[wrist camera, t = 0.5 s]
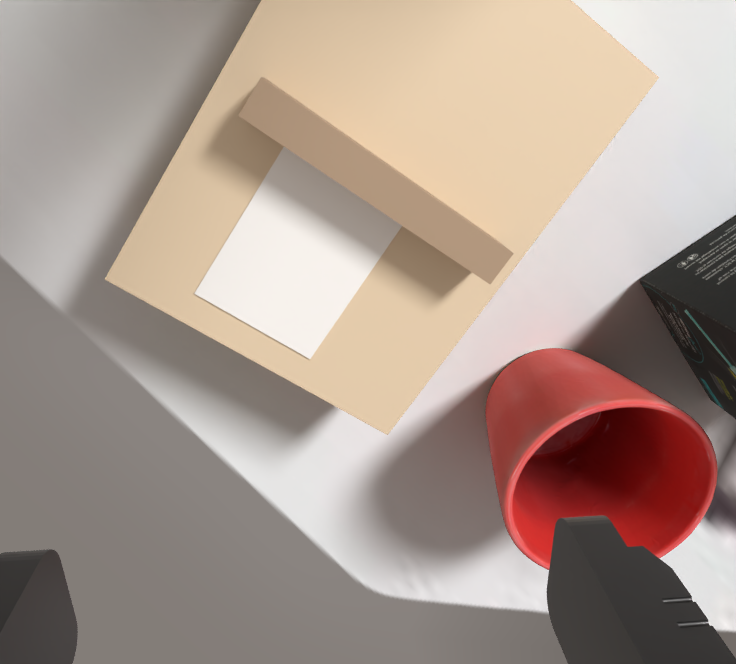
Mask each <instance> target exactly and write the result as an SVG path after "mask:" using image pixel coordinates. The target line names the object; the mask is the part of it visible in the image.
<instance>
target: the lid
mask: <svg viewBox="0 0 736 664" xmlns="http://www.w3.org/2000/svg"><path fill="white" fill-rule="evenodd" d="M658 78H659V77H658V76H657V75H656V74H655V73H653V72H652V71H651V70H650V69H649V68H648V67H647V66H645V65H644V64H643V63H642V62H641V61H640V60H639V59H637V58H636V57H635V56H634V55H633V54H632V53H631V52H629V51H628V50H627V49H626V48H625V47H624V46H623V45H621V44H620V43H619V42H618V41H617V40H616V39H615V38H613V37H612V36H611V35H610V34H609V33H608V32H607V31H605V30H604V29H603V28H602V27H601V26H600V25H599V24H597V23H596V22H595V21H594V20H593V19H592V18H591V17H589V16H588V15H587V14H586V13H585V12H584V11H583V10H582V9H580V8H579V7H578V6H577V5H576V4H575V3H574V2H572V1H571V0H261V1H260V3H259V5H258V7H257V9H256V10H255V12H254V14H253V16H252V18H251V19H250V21H249V23H248V25H247V26H246V28H245V30H244V32H243V34H242V35H241V37H240V39H239V41H238V42H237V44H236V46H235V48H234V50H233V51H232V53H231V55H230V57H229V59H228V60H227V62H226V64H225V66H224V67H223V69H222V71H221V73H220V75H219V76H218V78H217V80H216V82H215V83H214V85H213V87H212V89H211V91H210V92H209V94H208V96H207V98H206V99H205V101H204V103H203V105H202V107H201V108H200V110H199V112H198V114H197V116H196V117H195V119H194V121H193V123H192V124H191V126H190V128H189V130H188V132H187V133H186V135H185V137H184V139H183V140H182V142H181V144H180V146H179V148H178V149H177V151H176V153H175V155H174V156H173V158H172V160H171V162H170V164H169V165H168V167H167V169H166V171H165V173H164V174H163V176H162V178H161V180H160V181H159V183H158V185H157V187H156V189H155V190H154V192H153V194H152V196H151V197H150V199H149V201H148V203H147V205H146V206H145V208H144V210H143V212H142V213H141V215H140V217H139V219H138V221H137V222H136V224H135V226H134V228H133V230H132V231H131V233H130V235H129V237H128V238H127V240H126V242H125V244H124V246H123V247H122V249H121V251H120V253H119V254H118V256H117V258H116V260H115V262H114V263H113V265H112V267H111V269H110V270H109V272H108V274H107V276H106V278H105V280H107V281H108V282H110V283H112V284H114V285H116V286H117V287H119V288H121V289H123V290H125V291H127V292H128V293H130V294H132V295H134V296H136V297H137V298H139V299H141V300H143V301H145V302H147V303H148V304H150V305H152V306H154V307H156V308H157V309H159V310H161V311H163V312H165V313H167V314H168V315H170V316H172V317H174V318H176V319H177V320H179V321H181V322H183V323H185V324H187V325H188V326H190V327H192V328H194V329H196V330H197V331H199V332H201V333H203V334H205V335H207V336H208V337H210V338H212V339H214V340H216V341H217V342H219V343H221V344H223V345H225V346H227V347H228V348H230V349H232V350H234V351H236V352H237V353H239V354H241V355H243V356H245V357H247V358H248V359H250V360H252V361H254V362H256V363H257V364H259V365H261V366H263V367H265V368H267V369H268V370H270V371H272V372H274V373H276V374H277V375H279V376H281V377H283V378H285V379H287V380H288V381H290V382H292V383H294V384H296V385H297V386H299V387H301V388H303V389H305V390H307V391H308V392H310V393H312V394H314V395H316V396H317V397H319V398H321V399H323V400H325V401H327V402H328V403H330V404H332V405H334V406H336V407H337V408H339V409H341V410H343V411H345V412H347V413H348V414H350V415H352V416H354V417H356V418H357V419H359V420H361V421H363V422H365V423H367V424H368V425H370V426H372V427H374V428H376V429H377V430H379V431H381V432H383V433H385V434H387V435H388V434H389V433H390V431H391V430H392V429H393V427H394V426H395V425H396V423H397V422H398V421H399V419H400V418H401V417H402V415H403V414H404V413H405V411H406V410H407V409H408V407H409V406H410V405H411V404H412V402H413V401H414V400H415V398H416V397H417V396H418V394H419V393H420V392H421V390H422V389H423V388H424V386H425V385H426V384H427V382H428V381H429V380H430V379H431V377H432V376H433V375H434V373H435V372H436V371H437V369H438V368H439V367H440V365H441V364H442V363H443V361H444V360H445V359H446V357H447V356H448V355H449V354H450V352H451V351H452V350H453V348H454V347H455V346H456V344H457V343H458V342H459V340H460V339H461V338H462V336H463V335H464V334H465V332H466V331H467V330H468V328H469V327H470V326H471V325H472V323H473V322H474V321H475V319H476V318H477V317H478V315H479V314H480V313H481V311H482V310H483V309H484V307H485V306H486V305H487V303H488V302H489V301H490V300H491V298H492V297H493V296H494V294H495V293H496V292H497V290H498V289H499V288H500V286H501V285H502V284H503V282H504V281H505V280H506V278H507V277H508V276H509V274H510V273H511V272H512V271H513V269H514V268H515V267H516V265H517V264H518V263H519V261H520V260H521V259H522V257H523V256H524V255H525V253H526V252H527V251H528V249H529V248H530V247H531V246H532V244H533V243H534V242H535V240H536V239H537V238H538V236H539V235H540V234H541V232H542V231H543V230H544V228H545V227H546V226H547V224H548V223H549V222H550V221H551V219H552V218H553V217H554V215H555V214H556V213H557V211H558V210H559V209H560V207H561V206H562V205H563V203H564V202H565V201H566V199H567V198H568V197H569V195H570V194H571V193H572V192H573V190H574V189H575V188H576V186H577V185H578V184H579V182H580V181H581V180H582V178H583V177H584V176H585V174H586V173H587V172H588V170H589V169H590V168H591V167H592V165H593V164H594V163H595V161H596V160H597V159H598V157H599V156H600V155H601V153H602V152H603V151H604V149H605V148H606V147H607V145H608V144H609V143H610V142H611V140H612V139H613V138H614V136H615V135H616V134H617V132H618V131H619V130H620V128H621V127H622V126H623V124H624V123H625V122H626V120H627V119H628V118H629V116H630V115H631V114H632V113H633V111H634V110H635V109H636V107H637V106H638V105H639V103H640V102H641V101H642V99H643V98H644V97H645V95H646V94H647V93H648V91H649V90H650V89H651V88H652V86H653V85H654V84H655V82H656V81H657V80H658Z"/></svg>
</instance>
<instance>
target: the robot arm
mask: <svg viewBox="0 0 736 664" xmlns="http://www.w3.org/2000/svg"><path fill="white" fill-rule="evenodd" d="M547 603H548V610H549V615H550V619H551V623H552V626H553V629H554V631H555V634H556V636H557V638H558V641H559V643H560V645H561V647H562V650H563V653H564V655H565V657H566V659H567V662H568V664H736V658H735V657H734V656H733V654H732V653H731V651H730V650H729V649H728V647H727V646H726V644H725V643H724V641H723V640H722V639H721V637H720V636H719V634H718V633H717V632H716V630H715V629H714V627H713V626H710V625H709V623H708V619H707V617H706V616H705V615H704V613H703V612H702V610H701V609H700V608H699V606H698V605H697V603H696V602H693V601H692V596H691V595H690V593H689V592H688V591H687V589H686V588H685V586H684V585H683V583H682V582H681V581H680V579H679V578H678V576H677V575H676V574H675V572H674V571H673V569H672V568H671V567H669V566H668V565H667V564H665V563H664V562H663V561H662V560H660V559H659V558H658V557H657V556H655V555H654V554H653V553H651V552H650V551H649V550H648V549H646V548H645V547H644V546H633V547H628V546H627V545H626V543H625V542H624V540H623V539H622V537H621V536H620V534H619V533H618V531H617V529H616V528H615V526H614V525H613V523H612V522H611V521H610V519H609V518H608V517H606V516H604V515H600V516H584V517H569V518H559V519H558V520H557V522H556V524H555V529H554V537H553V544H552V552H551V560H550V568H549V576H548V584H547ZM76 646H77V621H76V617H75V613H74V609H73V605H72V601H71V598H70V594H69V590H68V586H67V583H66V579H65V575H64V571H63V568H62V564H61V560H60V557H59V555H58V553H57V552H56V551H55V550H36V551H21V552H5V553H1V554H0V664H72V663H73V660H74V656H75V651H76Z"/></svg>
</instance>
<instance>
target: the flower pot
mask: <svg viewBox="0 0 736 664" xmlns="http://www.w3.org/2000/svg"><path fill="white" fill-rule="evenodd" d="M485 414H486V422H487V430H488V438H489V446H490V453H491V459H492V464H493V470H494V475H495V481H496V486H497V491H498V497H499V502H500V506H501V511H502V515H503V519H504V522H505V526H506V529H507V531H508V533H509V535H510V537H511V539H512V540H513V542H514V543H515V545H516V546H517V547H518V548H519V550H520V551H521V552H522V553H523V554H524V555H526V556H527V557H528V558H529V559H531V560H532V561H533V562H535V563H536V564H538V565H540V566H542V567H544V568H546V569H548V570H549V568H550V560H551V552H552V544H553V537H554V529H555V524H556V522H557V520H558V519H559V518H569V517H584V516H600V515H604V516H606V517H608V518H609V519H610V521H611V522H612V523H613V525H614V526H615V528H616V529H617V531H618V533H619V534H620V536H621V537H622V539H623V540H624V542H625V543H626V545H627V546H628V547H633V546H644V547H645V548H646V549H648V550H649V551H650V552H651V553H653V554H654V555H655V556H657V557H658V558H661V557H662V556H664V555H665V554H667V553H668V552H670V551H671V550H673V549H674V548H675V547H677V546H678V545H679V544H680V543H682V542H683V541H684V540H685V539H686V538H687V537H688V536H689V535H690V534H691V533H692V532H693V530H694V529H695V528H696V527H697V525H698V524H699V523H700V522H701V520H702V518H703V517H704V515H705V513H706V511H707V509H708V508H709V506H710V503H711V501H712V498H713V495H714V492H715V487H716V482H717V461H716V455H715V452H714V449H713V446H712V443H711V441H710V439H709V437H708V436H707V434H706V433H705V431H704V430H703V429H702V427H701V426H700V425H699V424H698V423H697V422H696V421H695V420H694V419H693V418H692V417H690V416H689V415H688V414H687V413H685V412H684V411H682V410H680V409H679V408H677V407H676V406H674V405H672V404H671V403H669V402H667V401H666V400H664V399H662V398H661V397H659V396H657V395H656V394H654V393H652V392H650V391H649V390H647V389H645V388H643V387H642V386H640V385H638V384H637V383H635V382H633V381H631V380H630V379H628V378H626V377H624V376H622V375H621V374H619V373H617V372H615V371H613V370H612V369H610V368H608V367H606V366H604V365H602V364H600V363H598V362H596V361H594V360H592V359H590V358H588V357H586V356H584V355H582V354H579V353H577V352H574V351H571V350H567V349H559V348H550V349H541V350H537V351H533V352H531V353H528V354H525V355H524V356H522V357H520V358H518V359H516V360H515V361H513V362H512V363H511V364H509V365H508V366H507V367H506V368H505V369H504V370H503V371H502V372H501V373H500V374H499V376H498V377H497V378H496V380H495V382H494V383H493V385H492V387H491V389H490V391H489V394H488V397H487V402H486V410H485Z"/></svg>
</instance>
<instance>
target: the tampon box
mask: <svg viewBox="0 0 736 664" xmlns="http://www.w3.org/2000/svg"><path fill="white" fill-rule="evenodd" d="M640 282H641V284H642V286H643V287H644V289H645V291H646V292H647V294H648V296H649V298H650V299H651V301H652V303H653V304H654V306H655V308H656V309H657V311H658V313H659V314H660V316H661V318H662V320H663V321H664V323H665V325H666V326H667V328H668V330H669V331H670V333H671V335H672V336H673V338H674V340H675V342H676V343H677V345H678V346H679V348H680V350H681V351H682V353H683V355H684V357H685V358H686V360H687V362H688V363H689V365H690V367H691V368H692V370H693V371H694V373H695V375H696V376H697V378H698V380H699V381H700V383H701V384H702V386H703V388H704V389H705V391H706V393H707V394H708V396H709V397H710V399H711V400H712V401H713V402H714V403H716V404H717V405H719V406H720V407H721V408H722V409H724V410H725V411H726V412H728V413H729V414H730V415H732V416H733V417H734V418H735V419H736V216H735V217H734V218H732V219H731V220H729V221H728V222H726V223H725V224H723V225H722V226H720V227H719V228H717V229H715V230H714V231H713V232H711V233H710V234H708V235H706V236H705V237H703V238H702V239H700V240H699V241H697V242H696V243H694V244H693V245H691V246H690V247H689V248H687V249H686V250H684V251H683V252H681V253H680V254H678V255H677V256H675V257H674V258H672V259H671V260H669V261H668V262H666V263H665V264H663V265H662V266H660V267H659V268H657V269H655V270H654V271H652V272H651V273H649V274H648V275H646V276H645V277H643V278H641V279H640Z"/></svg>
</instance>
